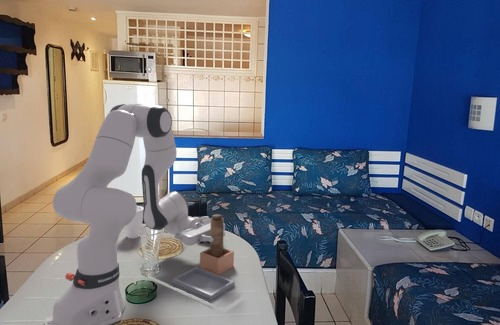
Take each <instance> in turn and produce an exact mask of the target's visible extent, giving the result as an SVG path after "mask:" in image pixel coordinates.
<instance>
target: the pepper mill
mask: <svg viewBox="0 0 500 325" xmlns="http://www.w3.org/2000/svg"><path fill="white" fill-rule="evenodd" d="M211 216H212V217H210V219H211V234H210V236H213V237H214V241H213V242H210V243H209V244H210V245H209V246H210V247H209V248H210V255H211V256H214V257H217V258H219V257H221V256H223V248H224V237H223V229H224V224H225V222H224V217H223V215H221V214H219V213H218V214H217V213H216V214H212V215H211Z"/></svg>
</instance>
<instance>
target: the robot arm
mask: <svg viewBox="0 0 500 325" xmlns="http://www.w3.org/2000/svg"><path fill="white" fill-rule="evenodd" d="M172 125H173V119H172V115H171V113H170V111H169V110H168V109H167V108H166V107H164V106H161V105H157V104H156V105H151V104H142V103H130V104H129V103H127V104H125V103H123V104H118V105H115V106H113V107H112V108H111V110H110V111H109V112H108V113H107V114H106V117H105V118H104V120H103V122H102V124H101V125H100V127H99V130H98V132H97V134H96V137H95V140H94V143H93V146H92V148H91V151H90V154H89V157H88V159H87V161H86V163H85V164H84V166H83V167H82V169H80V172H79V173H78V174H76V176H75V177H74V178H73V179H72V180H70V182H68V183H66V184H65V185H63V186H61V187H60V188H59V189H58V190H56V192H55V194H54V195H53V198H52V206H53V210H54V213H56V214H57V215H58V216H59V217H62V218H64V219H66V220H68V221H72V222H77V223H83V224H88V225H89V228H90V229H89V234H87V235H85V236H84V237H83V238H81V240H79V242H78V244H77V246H76V257H77V258H76V259H77V269H76V271H75V273H72V272H69V271H68V272H67V273H65V279H66V280H68V281H70V282H71V281H72V283H71V284H70V286H69V287H68V288H66V290H65V291H64V292H63V293H62V294H61V295H60V297H59V298H57V300H56V301H55V302H54V304H53V309H52V315H50V316H48V317H47V318H45V320H44V325H112V324H114V323H117V322H120V321H121V320H122V317H123V316H122V314H123V311H124V310H125V307H126V304H125V301H124V298H123V295H122V292H121V287H120V281H119V278H120V264H119V263H118V240H119V237H120V235H121V232H122V230H123V229H125V226H126V225H128V224H129V223H130V222H131V221H132V220H133V218H134V216H135V214H136V209H137V206H138V205H137V202H136V201H137V200H136V199H135V197H134V196H133V194H132V193H129V192H127V191H124V190H123V189H119V188H115V187H108V185H109V184H111V182H112V181H114V180H115V179H117V178H120V177H121V176H123V175H124V173H125V172H126V171H127V168H128V164H129V161H130V159H131V154H132V151H133V148H134V144H135V139H136V138H142V139H143V146H144V149H145V150H144V151H145V152H144V154H145V159H144V165H143V167H142V170H141V186H142V189H141V190H142V200H143V208H144V209H143V222H144V224H145V226H146V227H147V228H149V229H151V230H153V231H162V230H163V228H164V230H163V231H164V232H165V233H168V234H170V235H172V236H174V239H176V240H179V242H180V243H181V244H184V245H186V246H195V245H197V244H199V243H200V242H202V241H209V242H213V241H214V237H213V236H210V234H211V218H210V217H209V216H206V215H205V216H193V217H192V216H190V215H189V203H188V199H187V198H186V196H184V194H182V193H181V192H179V191H175V190H173V191H171V192H169V193H167V194H166V195H164V196H163V197H161V198H160V197H159V196H160V194H159V185H160V182H161V179H162V178H163V177H164V175H165V174H166V172H168V170H169V169H171V167H172V166H173V165H174V164H175V161H176V160H177V145H176V141H175V136H174V132H173V130H172ZM225 231H226V224H225V223H224V229H223V238H225V237H226V232H225Z"/></svg>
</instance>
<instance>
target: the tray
mask: <svg viewBox="0 0 500 325" xmlns="http://www.w3.org/2000/svg"><path fill="white" fill-rule="evenodd" d="M171 283H172V284H174V285H172V287H174V288H177V289H179V290H182V291H183V292H186V293H188V294H190V295H192V296H195V297H197V298H200V299H202V300H204V301H206V302H209V303H212V302H211V301H212V300H214V299H216V298H217V297H219V296H221V295H222V294H224V293H225V292H227V291H229V290H230V289H232V288H233V287H235V283H236V282H235V281H234V280H231V279H229V278H226V277H225V276H222V275H220V274H219V275H217V274H215V273H212V272H209V271H207V270H204V269H202V268H200V267H198V266H196V267H193V268H191V269H189V270H187V271H185V272H183V273H181V274H180V275H177V276H175V277H174V278H172V280H171ZM175 285H176V286H175ZM177 286H178V287H177ZM181 288H182V289H181ZM184 289H185V290H184ZM186 290H187V291H186ZM188 291H189V292H188ZM191 292H192V293H191ZM195 294H196V295H195ZM200 296H201V297H200ZM202 297H203V298H202ZM205 298H206V299H207V300H206V299H205ZM209 300H211V301H209Z"/></svg>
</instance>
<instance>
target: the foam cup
mask: <svg viewBox="0 0 500 325" xmlns="http://www.w3.org/2000/svg"><path fill="white" fill-rule="evenodd" d="M143 209H144V206H141V205H137V209H136V214H135V216H134V218H133V220H132V221H131V222H130V223H129V224H128V225H126V226H125V227H124V229H125V234H126V238H128V239H137V238H140V237H139V235H138V233H137V232H138V230H139V229H141V228H142V229H143V222H144V220H143Z"/></svg>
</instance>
